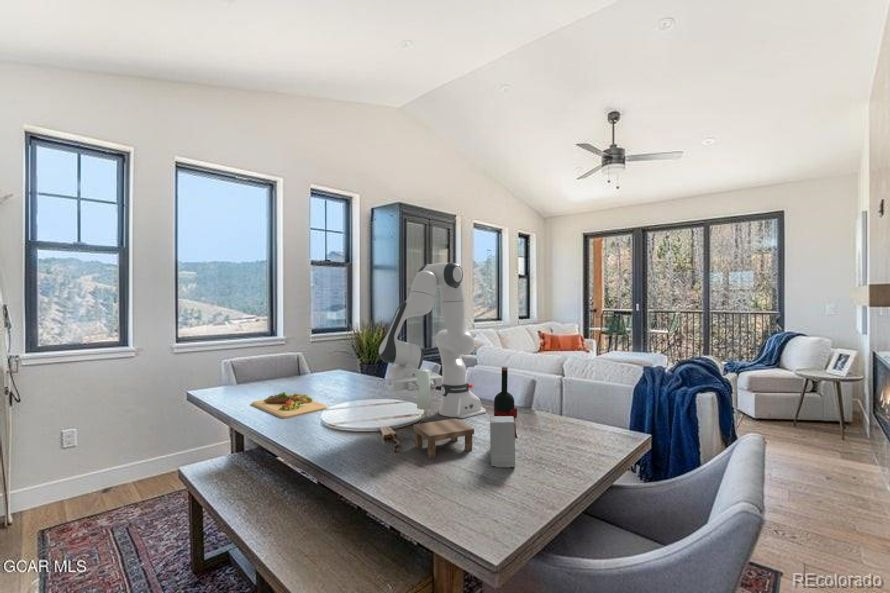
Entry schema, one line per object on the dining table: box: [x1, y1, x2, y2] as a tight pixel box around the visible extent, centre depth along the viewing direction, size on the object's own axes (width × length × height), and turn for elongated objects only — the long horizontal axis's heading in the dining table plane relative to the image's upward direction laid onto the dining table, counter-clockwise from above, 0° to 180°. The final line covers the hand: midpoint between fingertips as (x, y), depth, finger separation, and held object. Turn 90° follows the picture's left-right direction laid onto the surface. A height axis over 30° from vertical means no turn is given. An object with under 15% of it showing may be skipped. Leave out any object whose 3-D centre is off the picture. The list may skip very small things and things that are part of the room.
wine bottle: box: [493, 366, 519, 440], centre depth 165 cm, size 8×10×30 cm
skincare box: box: [489, 415, 516, 468], centre depth 150 cm, size 8×7×16 cm
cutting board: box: [251, 391, 328, 419], centre depth 218 cm, size 35×23×8 cm
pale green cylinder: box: [416, 368, 431, 411], centre depth 166 cm, size 5×5×14 cm
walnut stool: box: [413, 417, 475, 459], centre depth 164 cm, size 18×14×8 cm
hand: (424, 386), depth 165 cm, fingers closed on pale green cylinder, 5 cm apart
